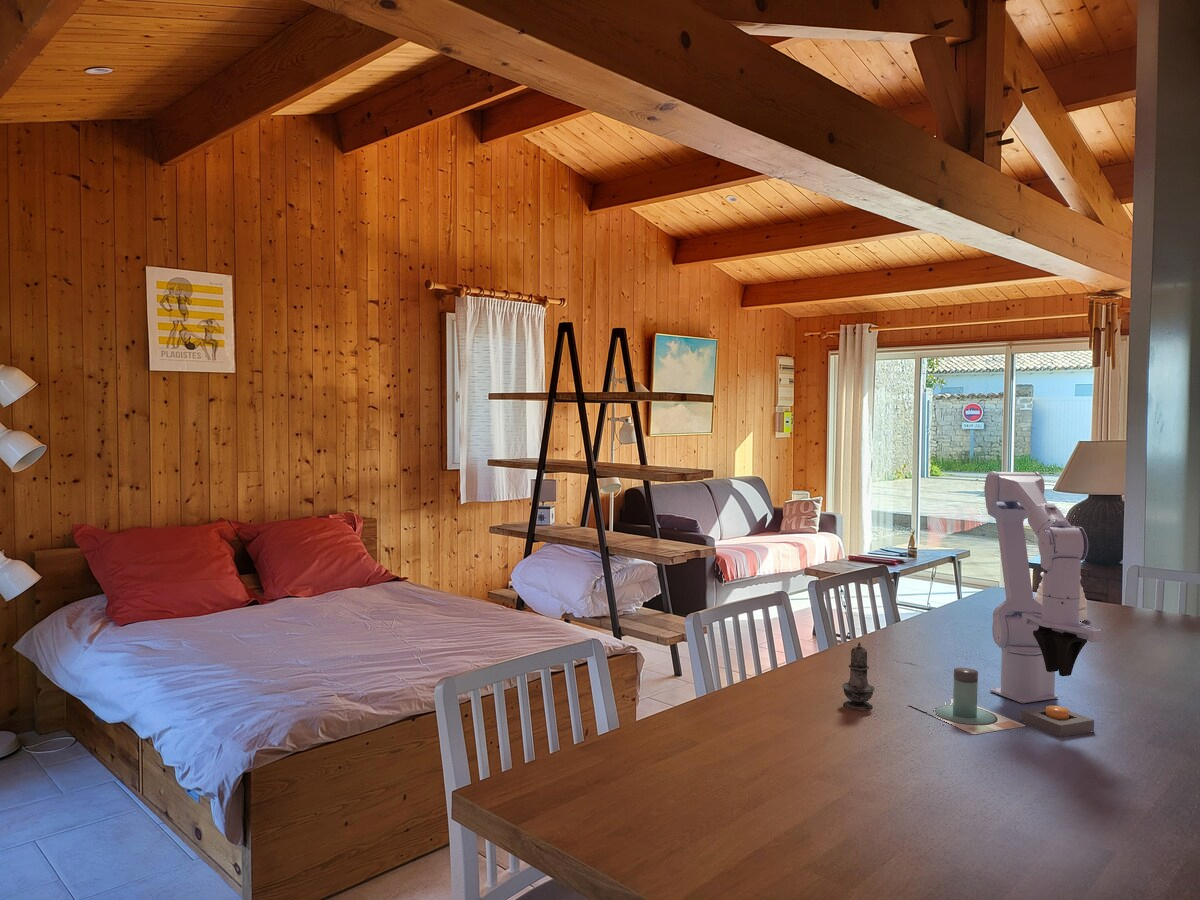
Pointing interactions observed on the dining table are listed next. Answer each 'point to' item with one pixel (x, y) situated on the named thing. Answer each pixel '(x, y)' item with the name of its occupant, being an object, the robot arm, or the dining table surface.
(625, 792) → the dining table surface
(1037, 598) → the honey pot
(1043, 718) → the button housing
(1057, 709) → the button
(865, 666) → the salt shaker
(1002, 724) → the picture sheet
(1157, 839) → the dining table surface
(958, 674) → the green capped cylinder
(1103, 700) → the dining table surface
